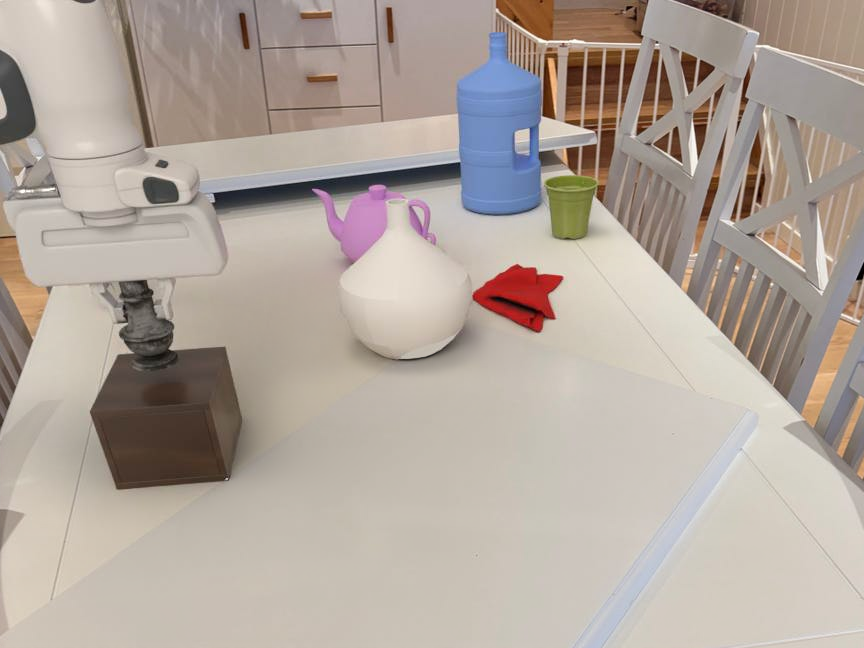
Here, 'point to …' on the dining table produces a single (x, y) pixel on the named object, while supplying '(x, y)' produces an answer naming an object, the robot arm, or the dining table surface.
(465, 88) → the water jug
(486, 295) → the cloth
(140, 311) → the grey chess piece
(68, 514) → the dining table surface
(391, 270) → the vase
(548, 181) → the plant pot
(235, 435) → the cabinet
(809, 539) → the dining table surface
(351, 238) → the teapot
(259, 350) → the dining table surface
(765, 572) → the dining table surface
